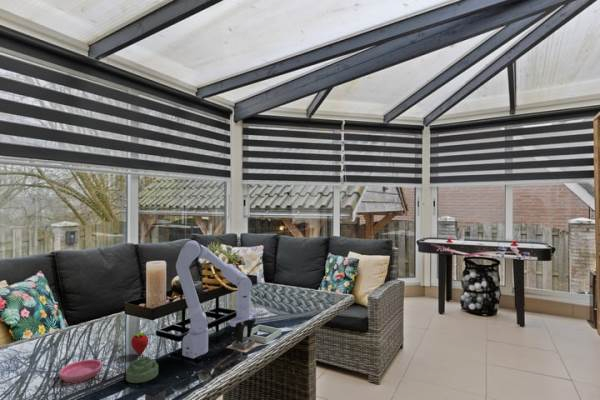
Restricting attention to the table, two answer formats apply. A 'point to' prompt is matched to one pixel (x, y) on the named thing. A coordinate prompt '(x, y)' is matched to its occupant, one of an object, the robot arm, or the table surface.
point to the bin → (274, 331)
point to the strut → (244, 336)
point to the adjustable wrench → (258, 314)
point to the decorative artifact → (142, 370)
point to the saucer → (80, 370)
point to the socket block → (243, 346)
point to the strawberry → (139, 342)
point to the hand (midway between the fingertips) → (243, 339)
